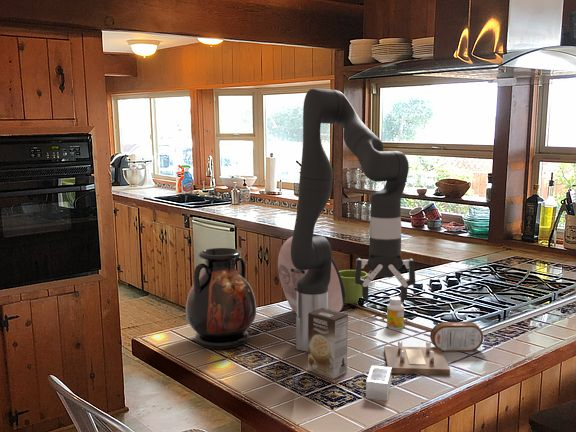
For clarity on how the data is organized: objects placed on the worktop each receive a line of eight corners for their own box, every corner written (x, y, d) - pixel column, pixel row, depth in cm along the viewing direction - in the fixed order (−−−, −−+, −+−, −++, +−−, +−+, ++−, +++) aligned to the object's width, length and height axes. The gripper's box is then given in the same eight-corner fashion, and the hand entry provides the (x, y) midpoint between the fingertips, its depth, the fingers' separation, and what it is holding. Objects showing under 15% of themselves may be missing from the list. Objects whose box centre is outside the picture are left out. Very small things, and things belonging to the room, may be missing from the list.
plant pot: (328, 302, 220) (329, 273, 219) (350, 296, 228) (350, 268, 227) (352, 309, 212) (352, 279, 210) (373, 303, 219) (374, 273, 218)
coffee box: (306, 370, 157) (306, 312, 155) (321, 363, 162) (321, 307, 160) (333, 379, 151) (334, 319, 149) (348, 372, 156) (348, 313, 154)
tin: (480, 348, 172) (481, 320, 171) (484, 352, 169) (485, 324, 168) (429, 349, 172) (430, 321, 171) (432, 353, 169) (433, 324, 168)
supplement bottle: (383, 326, 193) (384, 297, 192) (396, 323, 196) (397, 295, 194) (393, 330, 188) (394, 301, 187) (407, 328, 191) (407, 299, 190)
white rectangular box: (366, 399, 140) (366, 380, 140) (371, 382, 150) (371, 365, 149) (387, 401, 139) (387, 383, 138) (391, 384, 149) (391, 367, 148)
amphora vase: (227, 325, 196) (225, 242, 192) (271, 340, 180) (270, 251, 176) (172, 341, 181) (169, 251, 177) (215, 359, 165) (212, 262, 162)
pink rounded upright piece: (353, 319, 200) (354, 232, 196) (311, 331, 188) (310, 239, 184) (311, 305, 217) (310, 225, 213) (269, 316, 205) (268, 231, 201)
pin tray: (388, 373, 155) (388, 356, 154) (384, 351, 171) (384, 336, 170) (450, 374, 153) (450, 358, 153) (440, 352, 169) (440, 337, 169)
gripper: (355, 237, 137) (355, 305, 139) (417, 238, 136) (416, 306, 138) (355, 232, 144) (354, 296, 147) (413, 232, 143) (412, 297, 145)
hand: (384, 301), depth 142 cm, fingers open, 8 cm apart
